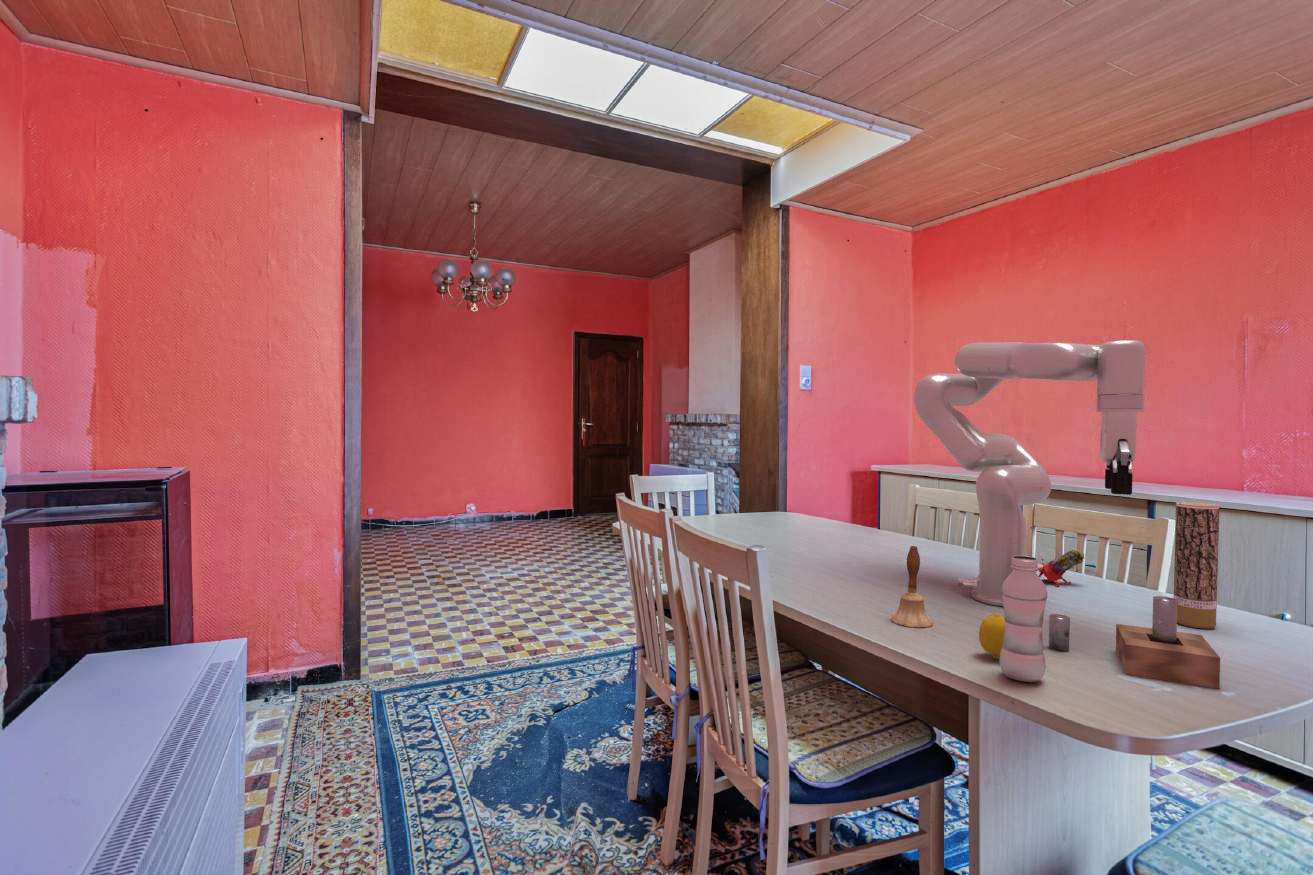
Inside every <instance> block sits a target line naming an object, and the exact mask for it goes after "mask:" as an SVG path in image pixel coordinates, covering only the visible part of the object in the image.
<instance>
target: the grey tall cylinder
mask: <svg viewBox="0 0 1313 875" xmlns="http://www.w3.org/2000/svg"><path fill="white" fill-rule="evenodd" d="M1177 625H1178V623H1177V600H1176V599H1174V597H1169V596H1168V597H1167V596H1162V595H1157V596H1156V595H1154V596H1153V597H1152V626H1151V627H1152V641H1153V642H1160V643H1167V644H1174V645H1176V632H1178V630H1177V627H1178V626H1177Z"/></svg>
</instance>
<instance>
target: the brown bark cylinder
mask: <svg viewBox="0 0 1313 875" xmlns="http://www.w3.org/2000/svg"><path fill="white" fill-rule="evenodd" d="M1219 506H1220V505H1218V504H1213V503H1208V502H1207V503H1206V502H1192V501H1191V502H1190V501H1179V502H1178V501H1177V502H1176V503H1175V526H1174V527H1175V529H1174V530H1175V531H1174V564H1173V566H1174V568H1173V569H1174V570H1173V598H1174V599H1176V600H1177V624H1179V625H1182V626H1185V627H1187V628H1194V629H1201V630H1202V629H1205V630H1206V629H1207V630H1210V629H1213V628H1215V627H1216V625H1217V607H1218V606H1217V605H1218V604H1217V603H1218V575H1219V574H1218V570H1219V536H1220V534H1219V532H1220V507H1219Z"/></svg>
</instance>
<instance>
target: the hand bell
mask: <svg viewBox="0 0 1313 875" xmlns="http://www.w3.org/2000/svg"><path fill="white" fill-rule="evenodd" d="M920 556H921V555H920V553H919V550H918V546H916V545H910V548H909V550H908V554H907V557H906V568H907V572H908V582H907V583H908V586H907V592H905V593H903V594H901V595H900V599H899V600H900V601H899V605H898V608H897V610H896V611H895V613H893V614H892V615H891V616H890V621H891V620H892V621H891V622H892V623H893V624H896V625H899V624H900V625H899V626H902V625H904V627H907V628H908V627H909V628H914V627H918V629H920V628H919V627H926V628H929V627H930V628H931V627H933V625H934V622H933V620H932V619H931V618H930V617H929V615H928V613H927V611H926V608H925V603H924V602H925V600H924V597H923V596H922V595H920V594H918V592H917V588H918V586H917V585H918V583H917V582H918V579H917V578H918V573H919V571H920V567H921V566H920V565H921V558H920Z"/></svg>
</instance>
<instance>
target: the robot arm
mask: <svg viewBox="0 0 1313 875" xmlns="http://www.w3.org/2000/svg"><path fill="white" fill-rule="evenodd" d="M953 361H954V365H955V368H956V369H957V370H958V372H960V373H950V372H949V373H948V372H942V373H941V372H938V373H932V374H931V373H930V374H928V375H926V376H923V377H922V378H921V379H920V380H918V382H917V383H916V385H915V388H914V393H913V400H914V401H913V402H914V407H915V410H916V413H917V415H918V416H919V418H920V420H921V421H922V422H923V423H924V424H925V426H926V427H927V428H928V429H930V431H931V432H932V433H933V434H934V435H935V436H936V437H937V438H938V439H939V441H940V442H941V443H942V445H943V446H944V447H945V449H947V451H948V452H949V454H951V456H952V457H953V458H954V459H955V460H956V462H957V463H958V464H959V465H960V466H961V467H962V468H963V469H964V470H966V471H968V472H971V473H972V472H974V473H975V472H976V473H979V475H978V476H977V478H976V481H975V492H976V498H977V499H976V500H977V503H978V504H977V505H978V511H979V549H978V550H979V554H978V556H979V558H978V562H979V564H978V565H979V566H978V575H977V578H975V577H973V578H972V579H971V578H966V577H958V578H957V579H958V581H957V586H959V587H962V588H964V589H965V588H966V589H973V590H972V591H971V597H972V598H973V600H975V601H978V602H980V603H984V604H987V605H992V606H996V607H997V606H999V607H1004V605H1003V597H1002V585H1003V582H1004V581H1005V580H1006V578H1007V577H1008V576H1009V575H1010V574H1011V573H1012V572H1013V569H1012V568H1011V564H1012V556H1027V525H1026V518H1025V516H1024V513H1023V511H1022V508H1021V506H1024V505H1025V506H1026V505H1027V506H1028V505H1035V504H1038V503H1041V502H1043V501H1045V500H1047V498H1048V497H1049V495H1050V493H1051V490H1052V482H1051V478H1050V476H1049V474H1048V472H1046V470H1045V469H1044V468H1043V466H1042V465H1041V464H1040V463H1039V462H1038V461H1037V460H1036V459H1035V458H1034V457H1033V456H1032V455H1031V454H1030V453H1029V451H1027V449H1026V448H1025V447H1023V445H1021V443H1020V442H1019V441H1017V440H1016V439H1015V438H1013V437H1012V436H1010V435H1008V434H1005V433H999V432H998V433H997V432H983V431H981V430H980V429H979V428H978V427H977V426H976V425H975V424H974V423H972V421H971V420H970V419H969V418H968V417H967V415H965V414H964V413H962V412H960V410H958V409H956V408H954V407H969V406H973V405H975V404H977V403H979V402H980V401H981V400H982V399H983V398H985V397H986V396H987V395H988V394H989V393H991V391H993V390H994V389H995V388H996V387H997V386H999V385H1000V384H1001V383H1002V382H1003V381H1004V380H1015V381H1018V380H1022V379H1032V380H1035V379H1037V380H1052V381H1078V382H1094V381H1096V407H1095V408H1096V413H1102V415H1101V422H1100V423H1101V424H1100V435H1099V436H1100V437H1099V438H1100V441H1099V456H1098V457H1099V460H1100V461H1102V462H1105V463H1106V464H1105V466H1106V467H1105V469H1104V470H1105V471H1104V488H1105V489H1106V490H1110V493H1111V494H1112V495H1124V496H1125V495H1127V496H1129V495H1132V494H1133V472H1132V471H1133V468H1132V463H1133V462H1134V461H1135V460H1136V450H1137V449H1136V448H1137V420H1138V418H1137V412H1140V413H1141V412H1145V383H1146V382H1145V378H1146V346H1145V344H1144V343H1143V342H1142V341H1140V340H1134V339H1133V340H1132V339H1131V340H1130V339H1129V340H1128V339H1127V340H1126V339H1125V340H1124V339H1123V340H1111V341H1107V342H1103V343H1101V344H1087V343H1085V344H1084V343H1075V342H1074V343H1073V342H1023V341H1009V342H1004V341H1003V342H997V341H996V342H993V341H992V342H970V343H968V344H965V345H963V346H962V347H961V348H959V349H958V351H956V353H955V356H954V360H953Z"/></svg>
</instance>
